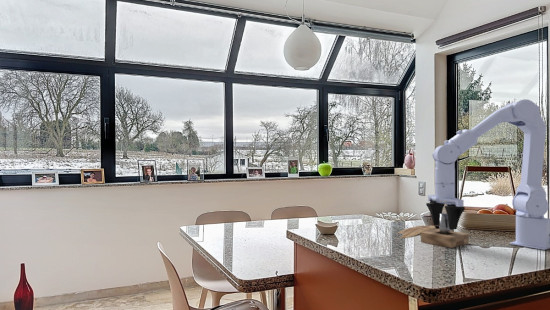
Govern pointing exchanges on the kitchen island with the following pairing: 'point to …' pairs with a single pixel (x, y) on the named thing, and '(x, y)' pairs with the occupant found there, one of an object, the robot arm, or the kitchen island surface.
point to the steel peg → (444, 224)
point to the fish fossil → (415, 231)
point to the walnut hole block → (445, 238)
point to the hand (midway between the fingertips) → (444, 227)
